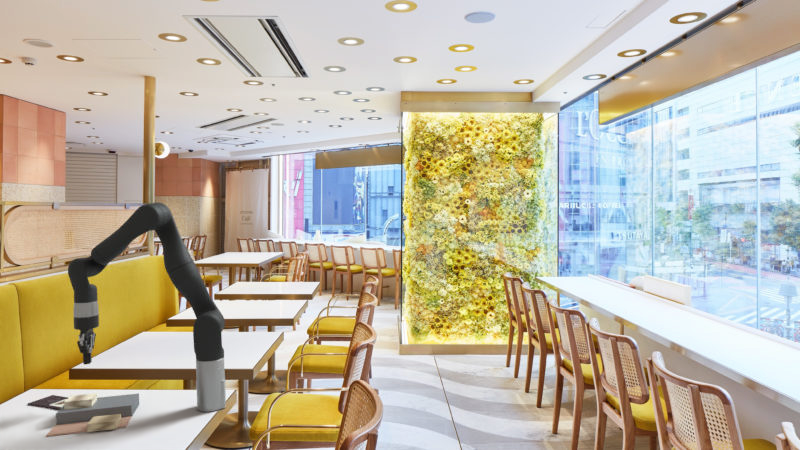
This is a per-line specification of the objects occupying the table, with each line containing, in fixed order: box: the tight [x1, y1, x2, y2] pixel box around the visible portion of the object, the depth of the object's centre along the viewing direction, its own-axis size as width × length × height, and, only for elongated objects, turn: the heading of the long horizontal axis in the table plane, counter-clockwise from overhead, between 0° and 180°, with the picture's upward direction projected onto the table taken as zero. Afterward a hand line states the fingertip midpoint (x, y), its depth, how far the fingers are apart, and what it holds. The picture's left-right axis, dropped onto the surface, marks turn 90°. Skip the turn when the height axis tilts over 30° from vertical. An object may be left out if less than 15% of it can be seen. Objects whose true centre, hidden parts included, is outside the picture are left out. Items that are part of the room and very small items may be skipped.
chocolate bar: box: [27, 394, 69, 411], centre depth 186 cm, size 9×1×18 cm
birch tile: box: [64, 392, 98, 410], centre depth 173 cm, size 8×6×2 cm
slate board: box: [55, 393, 140, 425], centre depth 174 cm, size 22×12×4 cm, turn 106°
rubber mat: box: [45, 416, 132, 438], centre depth 164 cm, size 22×8×1 cm, turn 106°
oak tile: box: [86, 414, 121, 433], centre depth 163 cm, size 8×6×2 cm
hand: (87, 363), depth 181 cm, fingers closed
